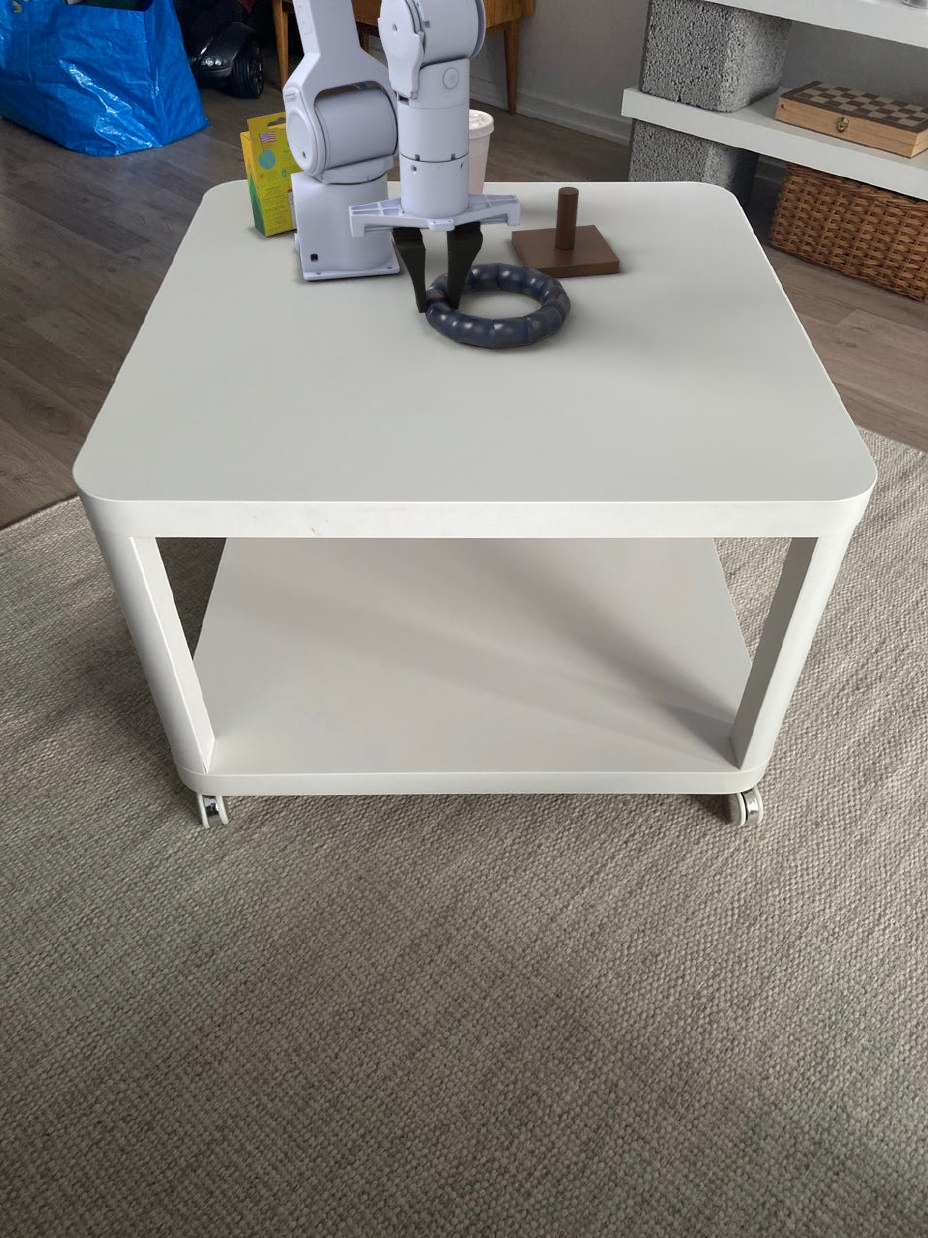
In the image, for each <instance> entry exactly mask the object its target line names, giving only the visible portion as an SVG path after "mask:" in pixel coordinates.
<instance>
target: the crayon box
mask: <svg viewBox="0 0 928 1238" xmlns="http://www.w3.org/2000/svg"><path fill="white" fill-rule="evenodd" d="M281 118H283V119H285V120H286V111H281V112H277V113H271V114H267V115H262V116H257V117H252V118H248V119H246V123H247V127H248V131H243V132H240V133H239V135H240V142H241V147H242V153H243V159H244V166H245V171H246V178H247V185H248V190H249V197H250V202H251V203H250V204H251V208H252V209H251V210H252V216H253V223H254V227H255V229H256V230H257V231H258V232H259V233H261V234H262V235H263V236H264V237H266V238H269V237H272V236H273V235H277V234H281V233H284V232H290V231H292V230H297V225H296V216H295V208H294V200H293V191H292V182H291V174H293V173H298V172H303V169H301V168H300V167H299V165H298V164H297V162H296V161H295V159H294V157H293V155H292V152H291V150H290V146H289V143H288V138H287V132H286V122H284V123H279V124H275V125H271V126H268V124H270V123H273V122H277V121H278V120H279V119H281Z"/></svg>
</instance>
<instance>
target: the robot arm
mask: <svg viewBox="0 0 928 1238" xmlns="http://www.w3.org/2000/svg"><path fill="white" fill-rule="evenodd" d="M380 4H381V5H380V10H379V11H380V12H379V17H378V18H377V23H378V24H377V25H378V34H379V37H380V42H381V46H382V49H383V51H384V54H385V57H386V60H387V66H386V65H384V64H383V63H382V62H381V61H379V60H378V59H377V58H375V57H374V56H372V55H371V54H370V53H368V52H366V51H365V50H364V49H363V48H362V47H361V44H360V40H359V33H358V29H357V24H356V19H355V13H354V8H353V3H352V0H292V5H293V7H294V8H293V9H294V13H295V18H296V23H297V26H298V27H297V28H298V31H299V35H300V40H301V44H302V45H301V46H302V50H303V54H304V56H303V58H302V59H301V61H300V62H299V63H298V65H297V67H296V68H295V69H294V71H293V72H292V73H291V75H290V76H289V78H288V79H287V81H286V82H285V84H284V86H283V88H282V98H283V103H284V109H285V112H286V119H285V123H286V132H287V138H288V143H289V146H290V150H291V152H292V155H293V157H294V159H295V161H296V162H297V164H298V165H299V167H300V168H301V169H303V172H298V173H293V174H291V182H292V191H293V200H294V208H295V216H296V225H297V229H296V232H294V234H293V235H294V242H295V243H294V244H295V250H296V253H297V254H298V253H299V256H300V262H301V269H302V275H303V279H304V280H305V281H318V280H331V279H341V278H354V277H355V278H356V277H366V276H377V275H378V276H379V275H380V276H381V275H389V274H398V273H400V272H401V267H400V264H399V261H398V258H397V255H396V251H395V248H394V245H395V247H396V249H397V252H398V254H399V256H400V258H401V259H402V261H403V264H404V265H405V267H406V269H407V272H408V274H409V276H410V279H411V283H412V287H413V291H414V297H415V304H416V307H417V311H418V313H419V314H425V313H426V312H427V297H426V290H427V288H426V258H427V257H426V254H427V248H426V246H425V243H424V235H423V233H422V230H430V232H434V233H439V232H446V233H445V234H446V248H447V249H446V250H447V272H448V274H447V298H448V301H449V304H450V306H451V307H453V308H455V309H456V310H458V311H459V309H460V302H461V297H462V295H461V293H462V290H463V286H464V283H465V280H466V277H467V274H468V272H469V270H470V267H471V265H473V263H474V261H475V260H476V258H477V256H478V255H479V252H480V251H481V249H482V247H483V242H484V234H483V232H482V230H481V229H482V227H481V226H484V225H498V224H499V225H500V224H506V225H507V226H508V227H516V226H520V225H521V209H522V203H521V201H520V200H519V198H518V196H517V194H490V193H483V194H476V193H469V110H470V67H471V66H470V65H471V64H470V59H473V58H475V57H476V56H477V55H478V54H479V53H480V52H481V49H482V47H483V46H484V42H485V38H486V31H487V18H486V17H487V16H486V15H487V14H486V9H485V4H484V0H381V3H380ZM345 86H354V87H356V88H358V89H354V90H350V91H345V92H340V93H339V92H338V93H335V94H330V95H324V96H319V97H317V96H318V95H319V93H320V92H323V91H324V90H330V89H335V88H341V87H345ZM395 92H396V93H395ZM397 156H399V179H400V182H399V183H400V196H398V197H394V198H389V187H388V186H389V183H388V171H389V170H393V169H394V168H395V167H394V158H395V157H397ZM391 236H392V239H393V242H394V245H393V242H392V239H391Z"/></svg>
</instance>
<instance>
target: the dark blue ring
mask: <svg viewBox="0 0 928 1238" xmlns="http://www.w3.org/2000/svg"><path fill="white" fill-rule="evenodd" d="M447 274H448V271H447V272H445V273H442V274H440V275H438V276H437V277H436V278H435V279H434V280H433V281H432V283H431V284H430V285H429V286H428V287H427V288H426V297H427V312H426V313H424V314H425V318H426V320H427V323H428V325H429V326H430V327H431V328H433V329H434V330H436V331H437V332H439V333H440V334H443V335H444V336H446V337H448V338H450V339H451V340H453V341H454V342H457V343H462V344H467V345H474V346H479V347H485V348H491V349H496V348H506V347H516V346H527V345H531V344H533V343H536V342H537V341H540V340H543V339H545V338H546V337H548V336H550V335H553V334H555V333H557V332H558V331H559V330H560V329H561V327H562V326H563V324H564V322H565V320H566V319H567V317H568V315H569V313H570V311H571V309H572V303H571V299H570V297H569V296H568V293H567V292H566V290H565V289H564V287H563V285H562V283H561V282H560V281H559V280H558V279H557V278H552V277H550V276H548V275H546V274H544V273H542V272H540V271H538V270H536V269H534V268H531V267H525V266H524V265H518V264H512V263H504V262H491V263H489V262H488V263H479V264H472V265H471V267H470V270H469V272H468V274H467V277H466V280H465V283H464V286H463V290H462V293H461V296H463V295H467V294H469V293H472V292H481V291H494V290H502V291H508V292H515V293H520V294H525V295H527V296H529V297H531V298H533V299H535V300H537V301H538V302H540V303H541V305H542V306H541V307H540V309H537V310H535V311H532V312H530V313H528V314H525V315H523V316H517V317H516V316H515V317H505V318H504V317H503V318H489V317H482V316H476V315H470V314H466V313H463V312H462V311H460V310H459V309H458V310H456V309H455V308H453V307H451V306H450V304H449V301H448V298H447Z"/></svg>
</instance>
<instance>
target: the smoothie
mask: <svg viewBox="0 0 928 1238" xmlns="http://www.w3.org/2000/svg"><path fill="white" fill-rule="evenodd" d="M494 130H495V126H494V117H493V116H492V115H491V114H490V113H487V112H484V111H482V110H477V109H469V193H476V194H484V185H485V178H486V169H487V163H488V155H489V149H490V142H491V141H490V140H491V134H492V133H493V132H494Z"/></svg>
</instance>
